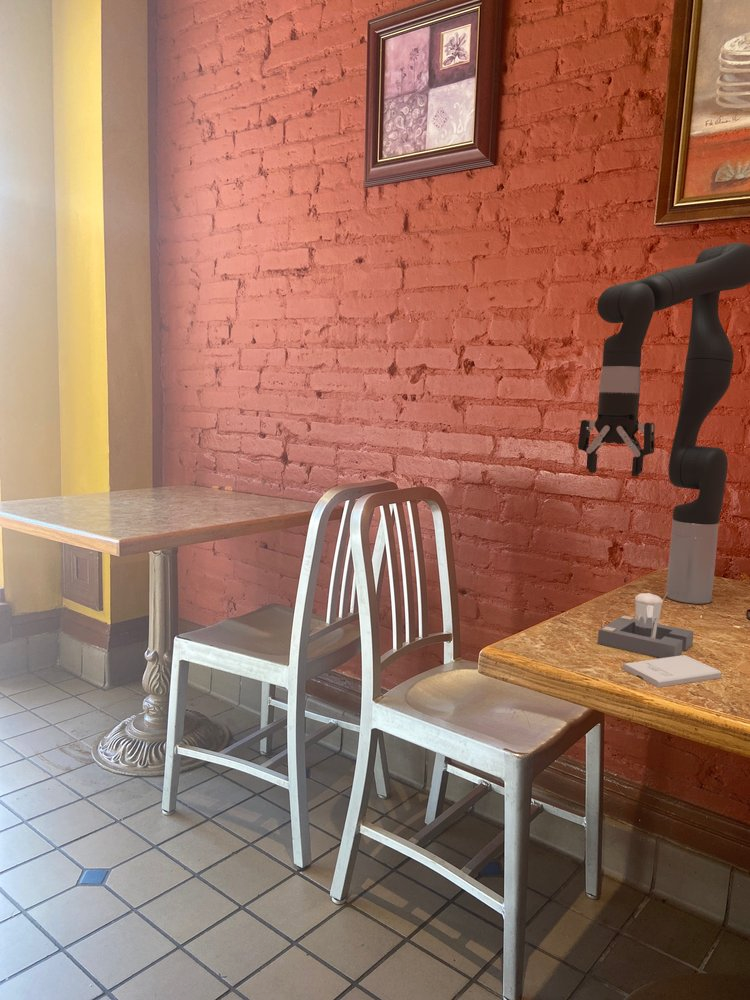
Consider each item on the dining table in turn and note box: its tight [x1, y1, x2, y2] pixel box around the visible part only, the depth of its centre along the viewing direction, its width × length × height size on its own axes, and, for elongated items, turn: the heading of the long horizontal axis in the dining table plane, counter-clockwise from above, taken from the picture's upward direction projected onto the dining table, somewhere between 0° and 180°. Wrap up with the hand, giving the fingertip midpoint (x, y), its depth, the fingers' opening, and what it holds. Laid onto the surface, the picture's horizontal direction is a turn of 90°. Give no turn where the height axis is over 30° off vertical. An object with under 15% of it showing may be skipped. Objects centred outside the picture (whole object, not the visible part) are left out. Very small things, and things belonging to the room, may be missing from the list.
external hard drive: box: [621, 654, 722, 688], centre depth 118 cm, size 2×8×12 cm
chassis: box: [597, 615, 695, 659], centre depth 132 cm, size 11×13×3 cm
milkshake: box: [634, 591, 668, 639], centre depth 131 cm, size 4×5×10 cm
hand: (613, 474), depth 147 cm, fingers open, 8 cm apart
